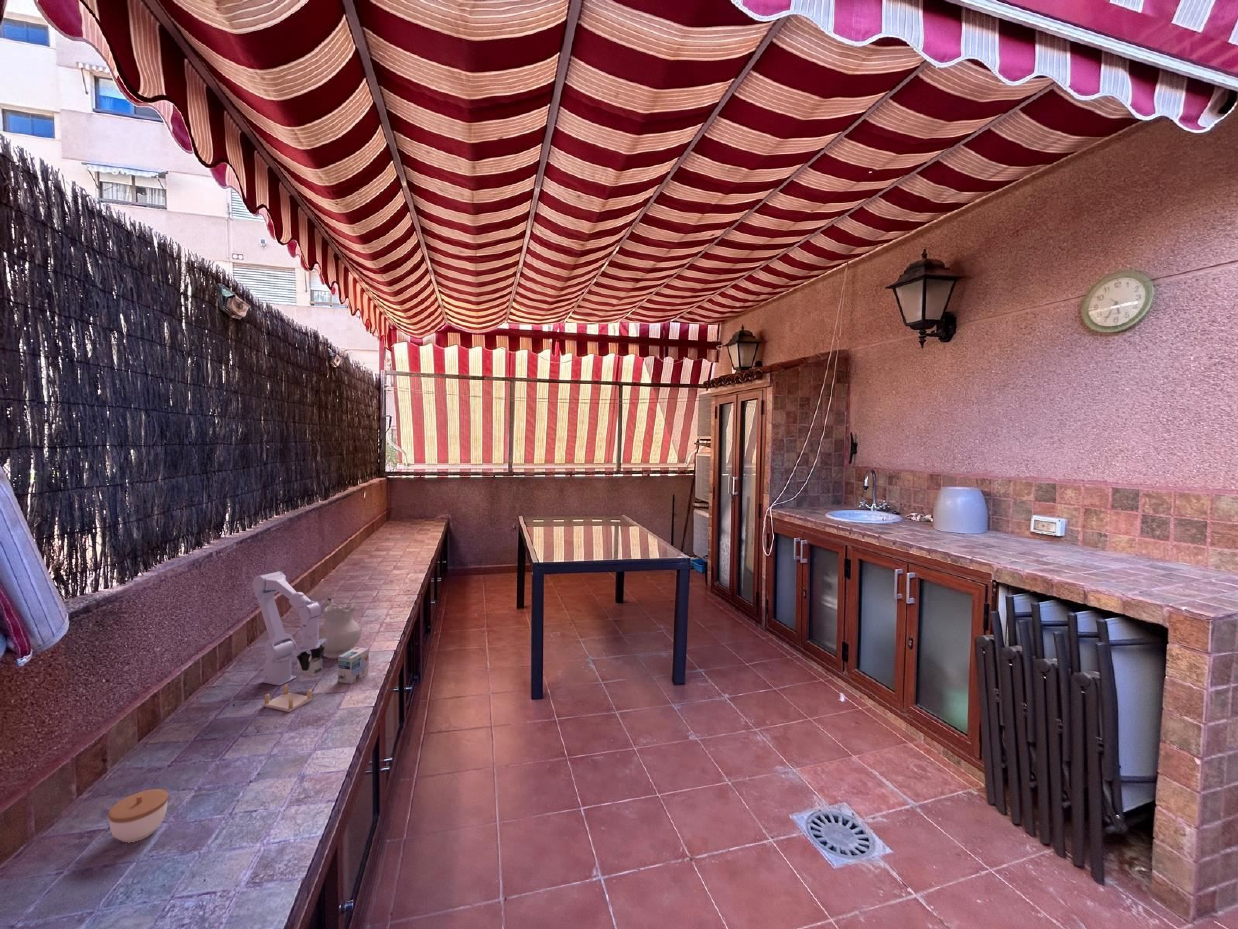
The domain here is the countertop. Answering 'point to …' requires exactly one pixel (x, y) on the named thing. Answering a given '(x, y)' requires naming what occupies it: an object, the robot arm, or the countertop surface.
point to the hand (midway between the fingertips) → (309, 667)
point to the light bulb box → (353, 665)
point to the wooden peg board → (287, 700)
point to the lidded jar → (138, 815)
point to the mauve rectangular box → (311, 666)
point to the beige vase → (339, 629)
